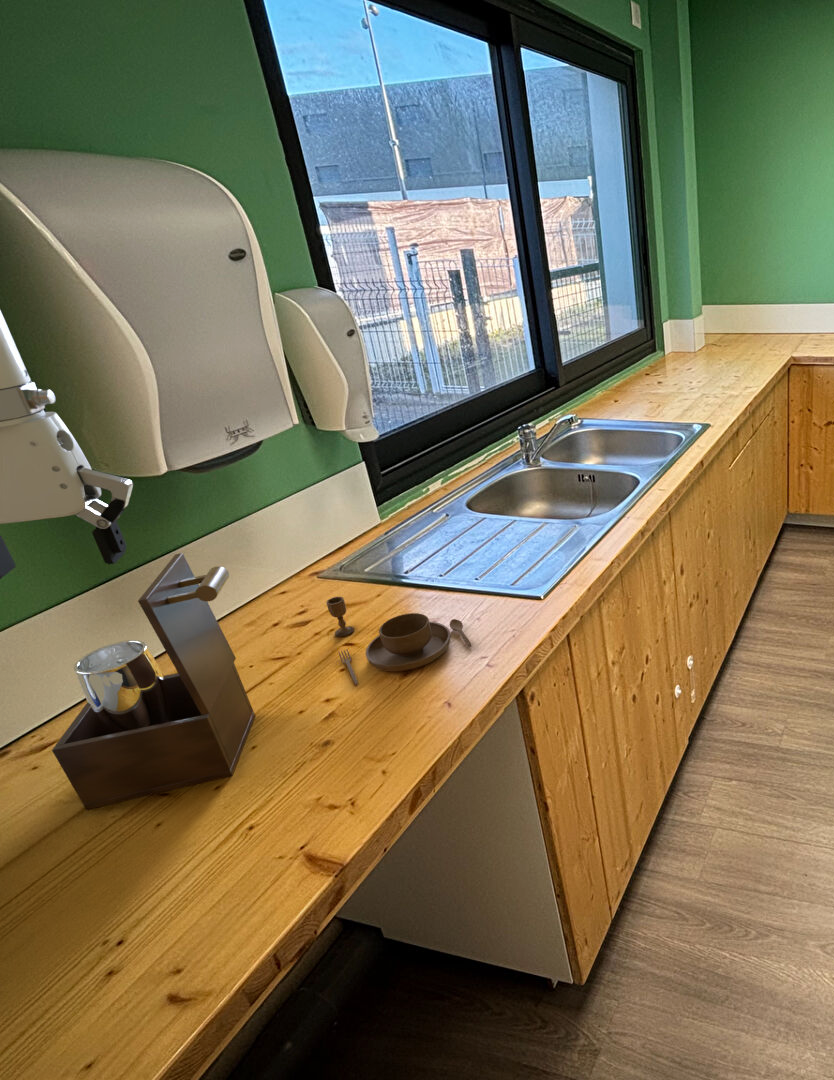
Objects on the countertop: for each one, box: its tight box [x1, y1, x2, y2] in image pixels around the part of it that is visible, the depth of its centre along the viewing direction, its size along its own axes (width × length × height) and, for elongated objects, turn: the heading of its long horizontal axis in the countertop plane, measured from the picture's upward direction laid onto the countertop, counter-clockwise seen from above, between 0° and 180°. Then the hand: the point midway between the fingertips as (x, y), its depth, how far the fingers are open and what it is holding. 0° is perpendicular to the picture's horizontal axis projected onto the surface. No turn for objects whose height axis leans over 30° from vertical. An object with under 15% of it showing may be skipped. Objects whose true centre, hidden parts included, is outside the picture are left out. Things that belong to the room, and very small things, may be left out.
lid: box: [137, 552, 237, 715], centre depth 82 cm, size 15×12×6 cm
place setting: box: [325, 596, 473, 686], centre depth 108 cm, size 18×20×6 cm
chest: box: [51, 662, 256, 811], centre depth 84 cm, size 15×12×9 cm
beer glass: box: [73, 639, 174, 734], centre depth 82 cm, size 7×7×15 cm
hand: (61, 566), depth 74 cm, fingers open, 9 cm apart
